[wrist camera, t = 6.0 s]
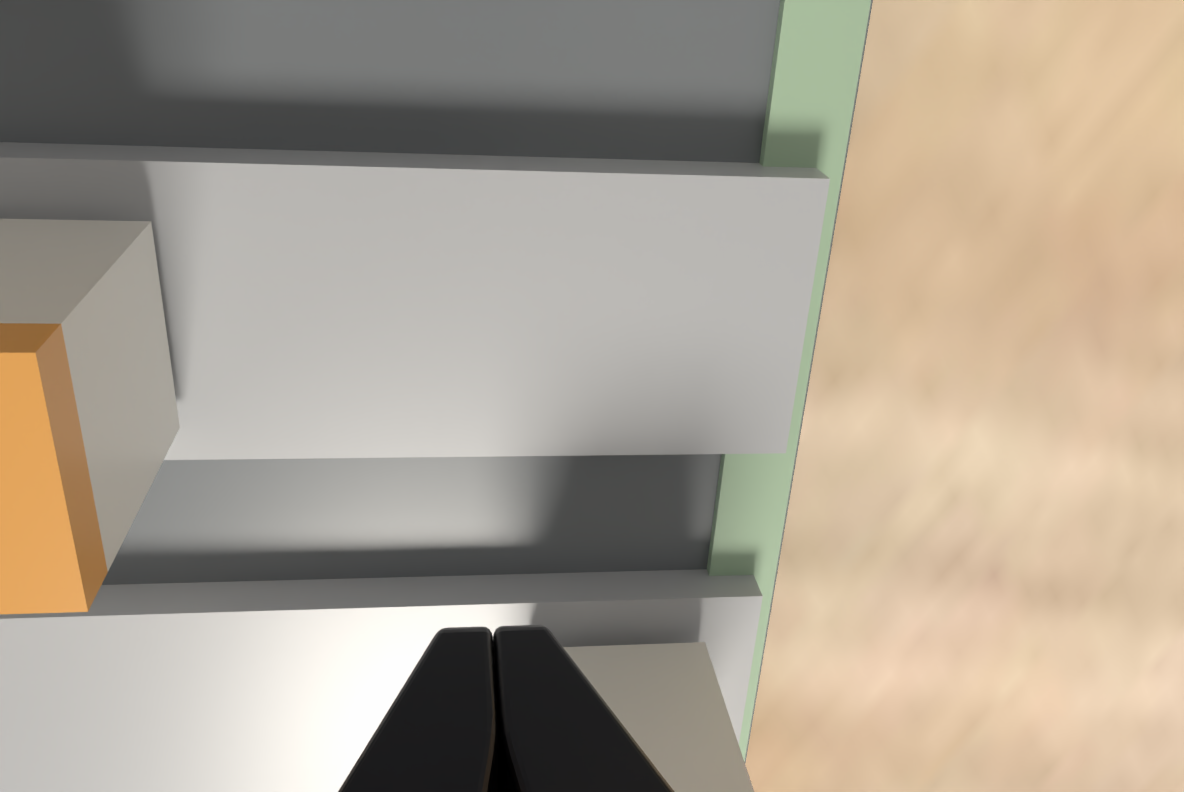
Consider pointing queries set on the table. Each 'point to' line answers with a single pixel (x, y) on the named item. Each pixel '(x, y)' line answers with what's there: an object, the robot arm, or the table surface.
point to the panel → (425, 349)
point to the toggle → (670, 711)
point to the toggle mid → (77, 403)
